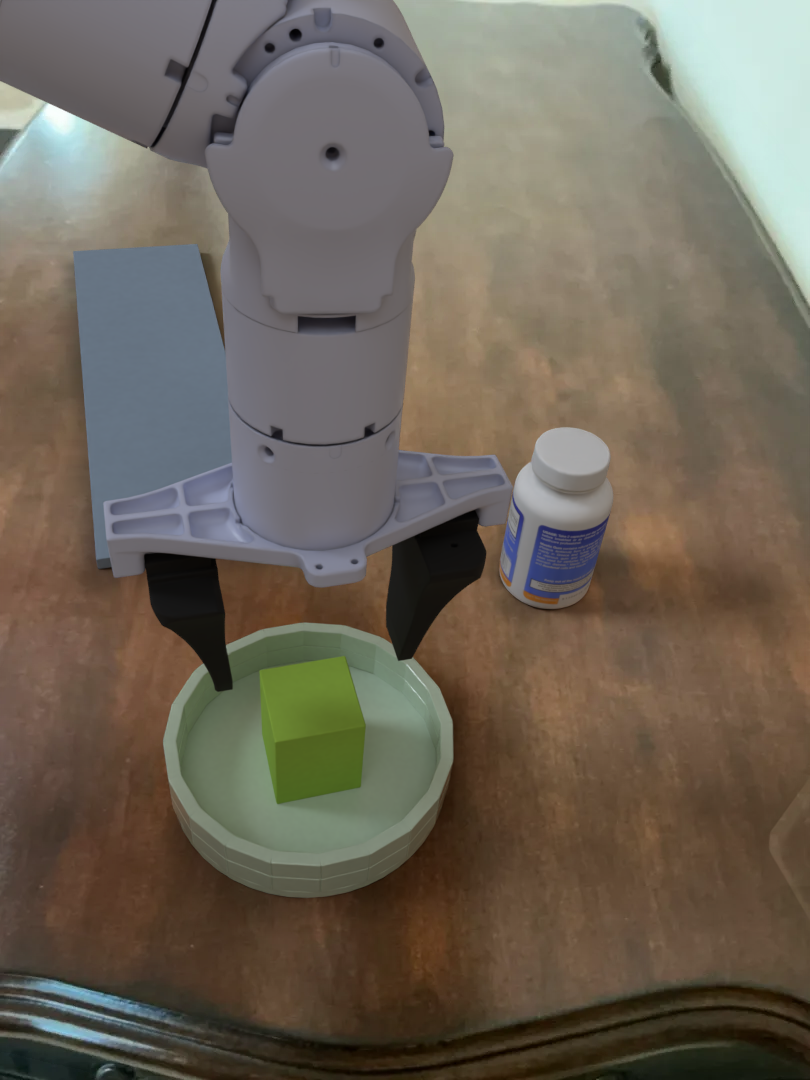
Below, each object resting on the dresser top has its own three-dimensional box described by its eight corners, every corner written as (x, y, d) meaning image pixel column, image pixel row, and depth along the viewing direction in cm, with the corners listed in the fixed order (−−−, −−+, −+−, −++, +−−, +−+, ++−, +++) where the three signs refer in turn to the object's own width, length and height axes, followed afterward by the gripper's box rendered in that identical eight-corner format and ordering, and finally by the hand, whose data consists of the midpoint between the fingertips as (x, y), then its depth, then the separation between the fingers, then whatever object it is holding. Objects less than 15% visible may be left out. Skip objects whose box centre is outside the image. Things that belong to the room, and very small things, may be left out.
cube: (276, 804, 45) (274, 742, 41) (261, 733, 47) (259, 669, 44) (361, 787, 46) (366, 725, 42) (342, 718, 48) (345, 655, 45)
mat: (273, 545, 58) (272, 535, 57) (98, 569, 55) (96, 559, 55) (198, 252, 82) (197, 243, 81) (74, 259, 80) (73, 250, 79)
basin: (116, 836, 44) (106, 801, 41) (246, 630, 53) (244, 592, 51) (392, 943, 41) (397, 910, 39) (479, 706, 50) (486, 670, 48)
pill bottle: (606, 580, 58) (647, 452, 51) (552, 627, 55) (587, 498, 48) (534, 533, 60) (563, 405, 53) (478, 576, 57) (502, 446, 50)
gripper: (90, 500, 27) (144, 769, 37) (567, 443, 31) (504, 702, 40) (80, 359, 32) (130, 629, 41) (494, 324, 35) (453, 580, 45)
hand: (312, 656), depth 41 cm, fingers open, 7 cm apart
